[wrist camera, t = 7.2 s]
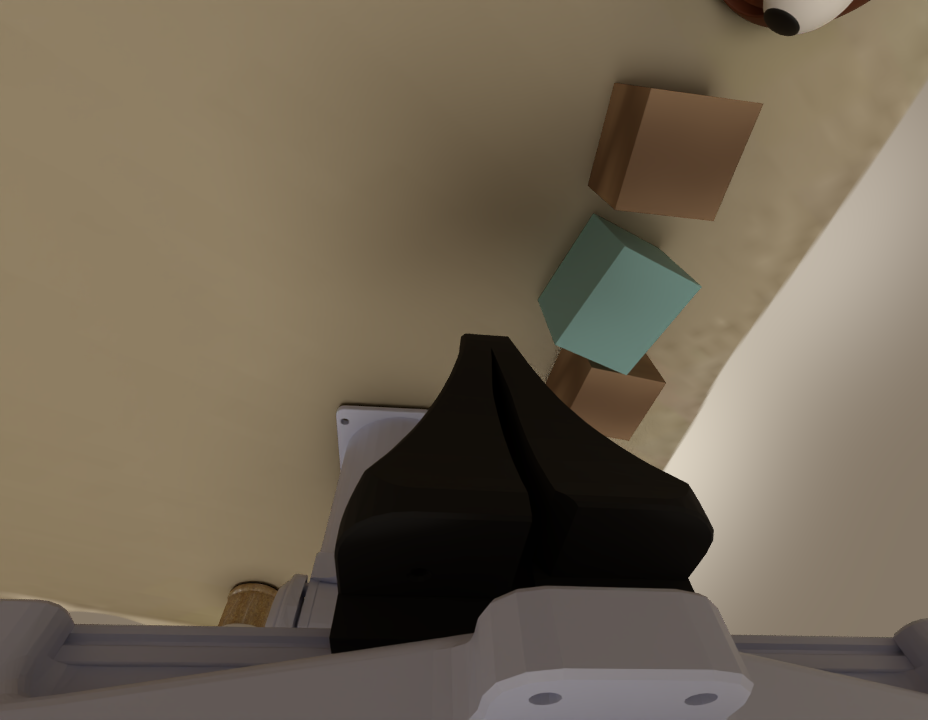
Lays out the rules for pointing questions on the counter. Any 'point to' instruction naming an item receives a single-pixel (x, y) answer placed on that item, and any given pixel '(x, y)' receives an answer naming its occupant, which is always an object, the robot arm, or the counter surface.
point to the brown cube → (670, 151)
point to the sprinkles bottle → (248, 606)
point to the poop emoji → (792, 13)
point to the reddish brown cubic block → (606, 392)
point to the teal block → (613, 296)
